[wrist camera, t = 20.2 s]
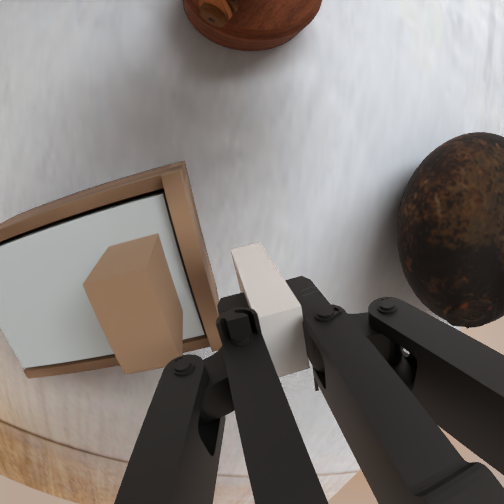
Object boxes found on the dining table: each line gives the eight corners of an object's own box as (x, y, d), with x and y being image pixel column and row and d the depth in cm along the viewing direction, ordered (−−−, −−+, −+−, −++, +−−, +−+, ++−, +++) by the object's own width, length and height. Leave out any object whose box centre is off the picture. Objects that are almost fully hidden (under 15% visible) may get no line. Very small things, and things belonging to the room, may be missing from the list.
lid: (-24, 253, 16) (-73, 290, 10) (164, 191, 17) (151, 215, 12) (27, 360, 19) (0, 412, 14) (203, 326, 21) (210, 388, 15)
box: (14, 216, 22) (-42, 248, 14) (184, 160, 24) (179, 171, 16) (58, 324, 26) (25, 383, 18) (216, 287, 28) (227, 347, 20)
